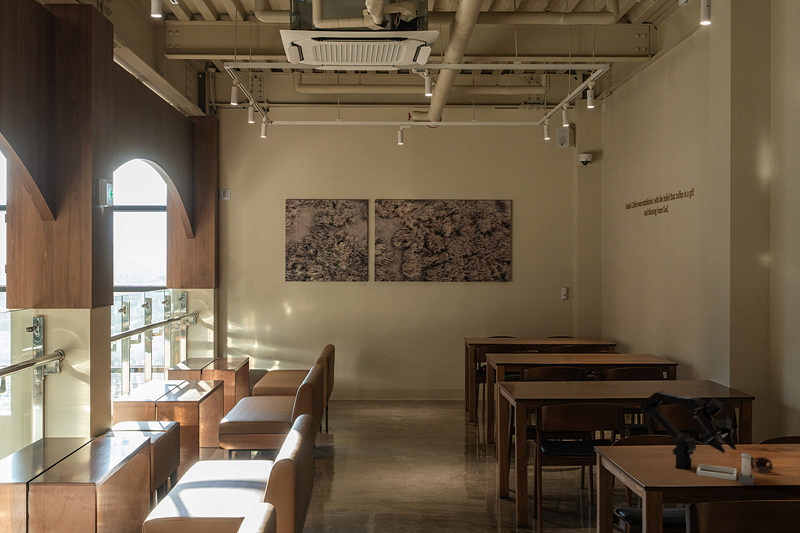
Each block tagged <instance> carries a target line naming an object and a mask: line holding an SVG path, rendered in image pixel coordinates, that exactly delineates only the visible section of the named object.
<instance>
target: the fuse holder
mask: <svg viewBox="0 0 800 533" xmlns="http://www.w3.org/2000/svg"><path fill="white" fill-rule="evenodd" d="M741 474H742V472H739V473H738V484H742V485H749V486H754V474H751V478H749V477H742V476H741Z"/></svg>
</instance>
